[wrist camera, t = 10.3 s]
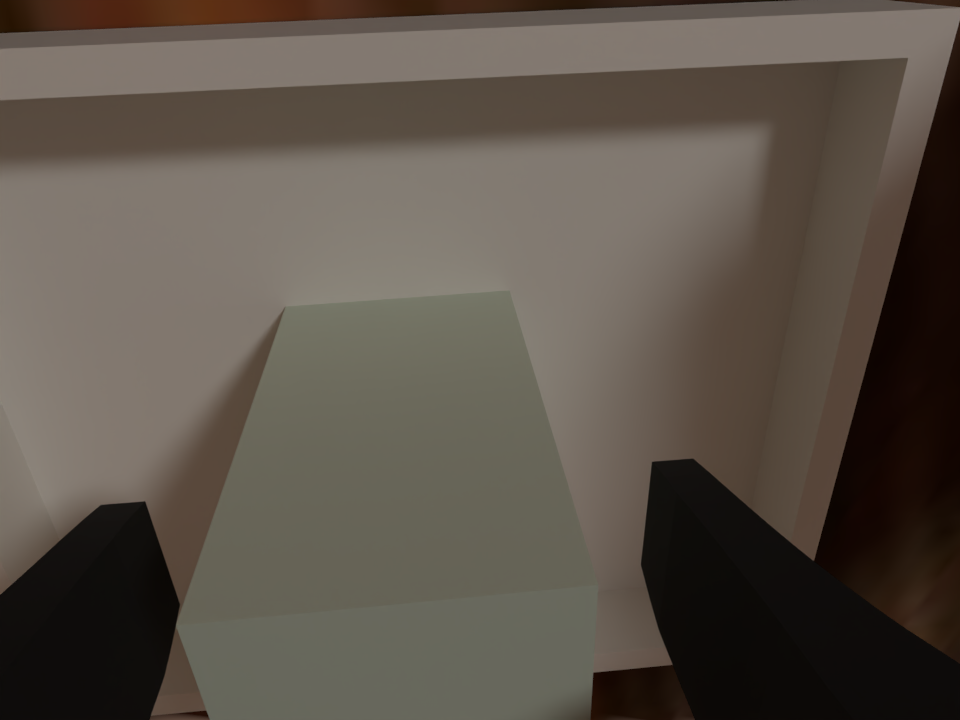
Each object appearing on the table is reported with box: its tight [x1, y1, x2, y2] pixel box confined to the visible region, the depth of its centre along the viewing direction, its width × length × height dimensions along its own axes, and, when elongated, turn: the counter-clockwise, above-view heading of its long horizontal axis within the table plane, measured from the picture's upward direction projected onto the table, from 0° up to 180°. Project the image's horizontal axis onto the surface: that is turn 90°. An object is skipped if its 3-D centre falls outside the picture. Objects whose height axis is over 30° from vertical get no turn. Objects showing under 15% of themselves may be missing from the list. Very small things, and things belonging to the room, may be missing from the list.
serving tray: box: [0, 0, 960, 716], centre depth 14 cm, size 16×13×2 cm
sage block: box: [176, 290, 598, 720], centre depth 11 cm, size 4×4×7 cm
